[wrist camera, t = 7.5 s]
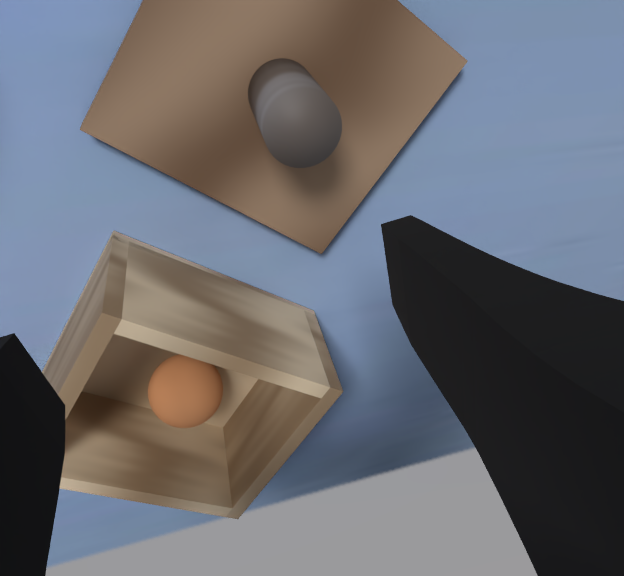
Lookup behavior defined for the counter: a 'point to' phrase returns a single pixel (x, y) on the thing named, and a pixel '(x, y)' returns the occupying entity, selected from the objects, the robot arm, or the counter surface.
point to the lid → (273, 101)
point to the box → (198, 345)
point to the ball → (185, 391)
